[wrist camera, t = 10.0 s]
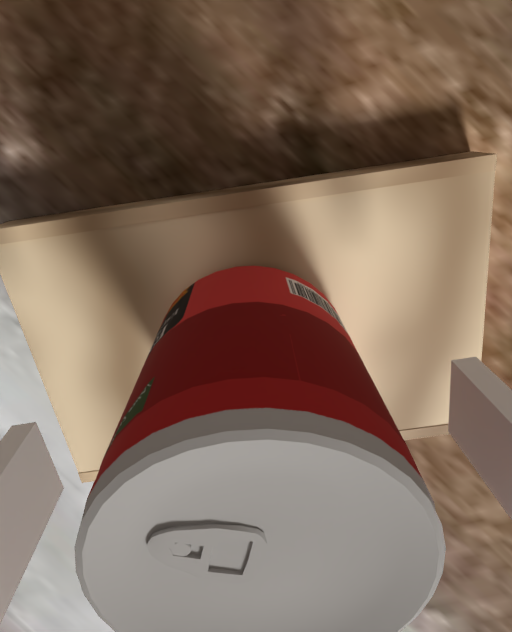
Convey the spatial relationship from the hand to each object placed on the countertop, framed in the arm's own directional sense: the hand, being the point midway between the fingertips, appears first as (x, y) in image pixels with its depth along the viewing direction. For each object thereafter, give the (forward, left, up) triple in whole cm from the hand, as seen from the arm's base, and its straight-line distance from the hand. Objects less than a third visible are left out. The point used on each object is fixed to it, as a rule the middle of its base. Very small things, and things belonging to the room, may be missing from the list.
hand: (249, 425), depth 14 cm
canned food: (0, 0, -6) cm, 6 cm away
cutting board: (0, 0, -8) cm, 8 cm away
